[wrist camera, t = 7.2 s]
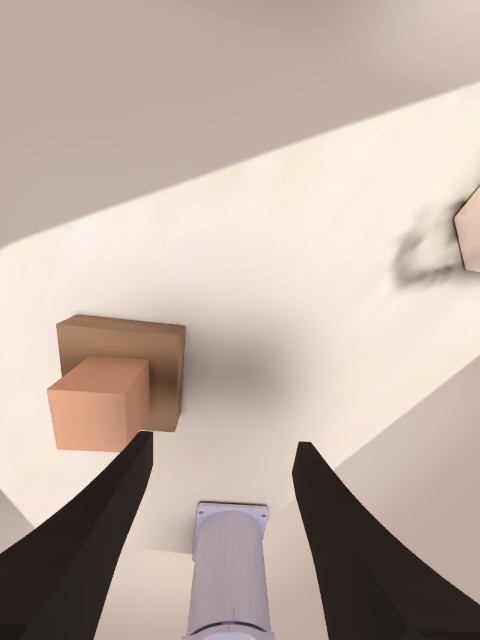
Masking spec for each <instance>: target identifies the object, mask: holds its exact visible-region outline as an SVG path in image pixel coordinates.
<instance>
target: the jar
mask: <svg viewBox="0 0 480 640" xmlns="http://www.w3.org/2000/svg"><path fill="white" fill-rule="evenodd" d="M454 221H455V225H456V230H457V234H458V239H459V243H460V247H461V252H462V256H463V261H464V265H465V269H466V270H468V271H475V272H480V187H479V188H478V189H477V190H476V192H475V193H474V194H473V195H472V197H471V198H470V199H469V200H468V201H467V203H466V204H465V205H464V206H463V208H462V209H461V210H460V211H459V212H458V214H457V215H456V216H455V218H454Z"/></svg>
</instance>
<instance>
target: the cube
mask: <svg viewBox="0 0 480 640" xmlns="http://www.w3.org/2000/svg"><path fill="white" fill-rule="evenodd" d="M47 394H48V399H49V405H50V411H51V417H52V423H53V428H54V434H55V440H56V446H57V449H60V450H82V451H104V452H121V451H122V450H123V449H124V448H125V447H126V446H127V445H128V444H129V443H130V441H131V440H132V439H133V438H134V437H135V436H136V434H137V433H138V431H139V429H140V427H141V425H142V423H143V421H144V419H145V417H146V415H147V413H148V411H149V409H150V389H149V360H143V359H128V358H113V357H98V356H89V357H88V358H86V359H85V360H84V361H82V362H81V363H80V364H79V365H77V366H76V367H75V368H74V369H72V370H71V371H70V372H68V373H67V374H66V375H65V376H63V377H62V378H61V379H60V380H58V381H57V382H56V383H55V384H53V385H52V386H51V387H49V388H48V389H47Z"/></svg>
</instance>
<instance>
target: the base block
mask: <svg viewBox="0 0 480 640" xmlns="http://www.w3.org/2000/svg"><path fill="white" fill-rule="evenodd" d="M56 327H57V336H58V345H59V354H60V363H61V372H62V377H63V376H65V375H66V374H67V373H68V372H70V371H71V370H72V369H74V368H75V367H76V366H77V365H79V364H80V363H81V362H82V361H84V360H85V359H86V358H88V357H89V356H98V357H113V358H128V359H143V360H149V389H150V409H149V411H148V413H147V415H146V417H145V419H144V421H143V423H142V425H141V427H140V429H139V430H152V431H165V432H175V429H176V426H177V423H178V419H179V416H180V412H181V395H182V377H183V360H184V342H185V326H182V325H172V324H163V323H153V322H143V321H134V320H124V319H114V318H105V317H95V316H85V315H75V316H73V317H71V318H69V319H66V320H64V321H62V322H60V323H58V324H56Z"/></svg>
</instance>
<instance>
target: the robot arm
mask: <svg viewBox="0 0 480 640" xmlns="http://www.w3.org/2000/svg"><path fill="white" fill-rule="evenodd" d="M152 466H153V432H149V431H140V432H138V433H137V434H136V436H135V437H134V438H133V439H132V440H131V441H130V443H129V444H128V445H127V446H126V447H125V448H124V449H123V450H122V451H121V452H120V454H119V455H118V456H117V457H116V458H115V459H114V460H113V461H112V462H111V463H110V464H109V465H108V466H107V467H106V468H105V469H104V470H103V471H102V472H101V473H100V474H99V475H98V476H97V477H96V478H95V479H94V480H93V481H92V482H91V483H90V484H89V485H88V486H86V487H85V488H84V489H83V490H82V491H81V492H80V493H79V494H78V495H76V496H75V497H74V498H73V499H72V500H71V501H69V502H68V503H67V504H66V505H65V506H64V507H62V508H61V509H60V510H59V511H57V512H56V513H55V514H54V515H52V516H51V517H50V518H49V519H47V520H46V521H45V522H44V523H42V524H41V525H40V526H38V527H37V528H36V529H34V530H33V531H32V532H30V533H29V534H28V535H26V536H25V537H23V538H22V539H21V540H19V541H18V542H16V543H15V544H13V545H12V546H11V547H9V548H8V549H6V550H5V551H4V552H2V553H1V554H0V640H93V639H94V636H95V632H96V629H97V626H98V622H99V619H100V616H101V613H102V609H103V606H104V603H105V600H106V596H107V593H108V590H109V586H110V584H111V581H112V577H113V574H114V571H115V568H116V565H117V562H118V559H119V555H120V553H121V550H122V548H123V545H124V543H125V540H126V538H127V535H128V533H129V530H130V528H131V525H132V523H133V520H134V518H135V515H136V513H137V510H138V508H139V505H140V503H141V500H142V498H143V495H144V493H145V490H146V487H147V484H148V480H149V477H150V474H151V470H152ZM292 477H293V483H294V489H295V494H296V499H297V502H298V506H299V510H300V513H301V517H302V520H303V524H304V527H305V531H306V535H307V538H308V541H309V545H310V549H311V552H312V556H313V560H314V565H315V569H316V574H317V579H318V584H319V589H320V594H321V599H322V604H323V610H324V615H325V621H326V626H327V632H328V637H329V640H480V605H479V604H478V603H477V602H475V601H474V600H473V599H471V598H470V597H469V596H467V595H466V594H464V593H463V592H462V591H460V590H459V589H458V588H456V587H455V586H454V585H452V584H451V583H450V582H448V581H447V580H446V579H444V578H443V577H442V576H440V575H439V574H438V573H437V572H435V571H434V570H433V569H432V568H430V567H429V566H428V565H427V564H426V563H424V562H423V561H422V560H421V559H419V558H418V557H417V556H416V555H415V554H414V553H412V552H411V551H410V550H409V549H408V548H406V547H405V546H404V545H403V544H402V543H401V542H400V541H399V540H398V539H397V538H395V537H394V536H393V535H392V534H391V533H390V532H389V531H388V530H387V529H386V528H385V527H384V526H383V525H382V524H380V522H379V521H378V520H377V519H376V518H375V517H374V516H373V515H372V514H370V512H369V511H368V510H367V509H366V508H365V507H364V506H363V505H362V504H361V503H360V502H359V501H358V500H357V499H356V497H355V496H354V495H353V494H352V493H351V492H350V491H349V490H348V488H347V487H346V486H345V485H344V484H343V482H342V481H341V480H340V479H339V478H338V476H337V475H336V474H335V473H334V471H333V470H332V469H331V468H330V466H329V465H328V464H327V462H326V461H325V460H324V459H323V457H322V456H321V455H320V453H319V452H318V451H317V449H316V448H315V447H314V446H313V444H312V443H311V442H300V441H299V444H298V448H297V452H296V457H295V461H294V465H293V470H292ZM267 517H268V508H267V507H266V506H252V505H234V504H216V503H199V504H198V506H197V516H196V526H195V537H194V547H193V558H192V559H193V561H194V562H195V567H194V575H193V583H192V591H191V600H190V609H189V618H188V626H187V634H186V636H183V637H182V640H275V634H274V633H273V632H271V627H270V617H269V608H268V597H267V587H266V578H265V567H264V557H263V547H262V540H263V535H264V530H265V526H266V522H267Z"/></svg>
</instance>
